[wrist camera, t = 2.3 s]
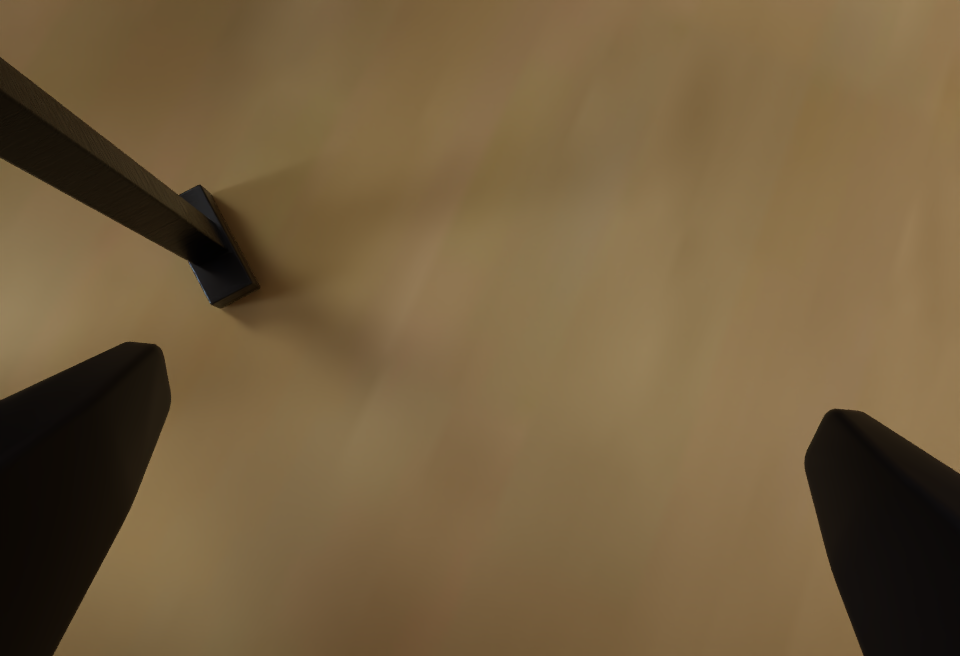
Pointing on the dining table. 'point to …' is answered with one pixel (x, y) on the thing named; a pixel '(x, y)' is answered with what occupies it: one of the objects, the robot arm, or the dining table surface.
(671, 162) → the dining table surface
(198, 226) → the clothes rail
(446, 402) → the dining table surface
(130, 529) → the dining table surface
